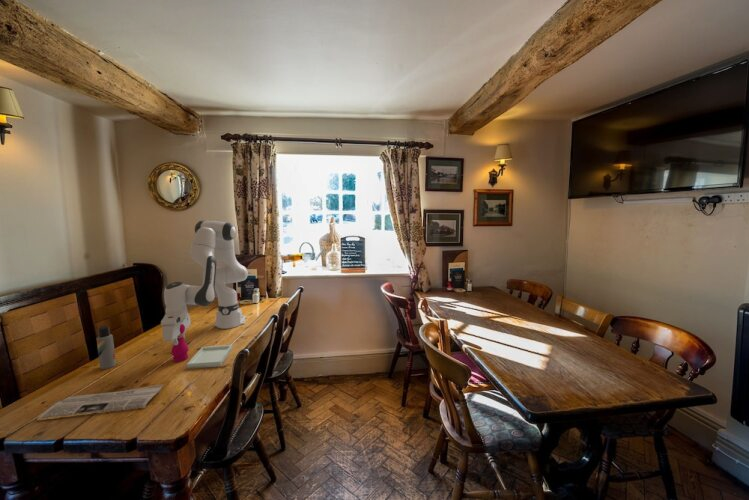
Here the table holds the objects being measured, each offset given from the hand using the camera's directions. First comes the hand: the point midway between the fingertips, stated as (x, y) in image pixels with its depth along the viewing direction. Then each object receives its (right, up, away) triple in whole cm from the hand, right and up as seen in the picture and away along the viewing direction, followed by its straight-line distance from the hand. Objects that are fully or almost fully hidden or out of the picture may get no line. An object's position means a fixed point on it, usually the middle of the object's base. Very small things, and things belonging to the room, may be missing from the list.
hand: (179, 341), depth 147 cm
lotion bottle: (-30, -10, -6) cm, 32 cm away
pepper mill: (0, -9, +1) cm, 9 cm away
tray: (+15, -9, +2) cm, 18 cm away
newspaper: (-6, -14, -33) cm, 36 cm away
